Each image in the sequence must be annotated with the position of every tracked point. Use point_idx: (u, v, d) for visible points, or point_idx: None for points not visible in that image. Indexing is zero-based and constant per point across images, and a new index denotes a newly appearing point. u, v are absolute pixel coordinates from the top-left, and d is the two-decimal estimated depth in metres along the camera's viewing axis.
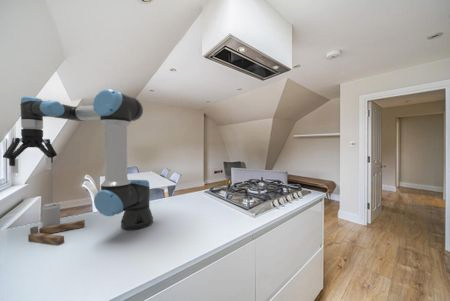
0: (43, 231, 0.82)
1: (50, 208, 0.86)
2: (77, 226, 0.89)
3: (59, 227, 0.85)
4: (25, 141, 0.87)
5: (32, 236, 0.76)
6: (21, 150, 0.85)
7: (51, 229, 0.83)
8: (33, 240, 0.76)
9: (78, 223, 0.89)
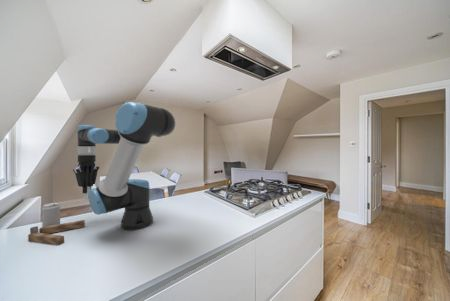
0: (43, 231, 0.82)
1: (50, 208, 0.86)
2: (77, 226, 0.89)
3: (59, 227, 0.85)
4: (83, 167, 0.93)
5: (32, 236, 0.76)
6: (86, 178, 0.94)
7: (51, 229, 0.83)
8: (33, 240, 0.76)
9: (78, 223, 0.89)
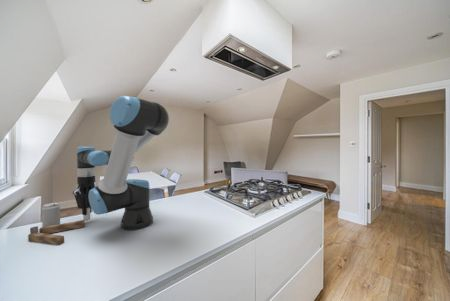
0: (43, 231, 0.82)
1: (50, 208, 0.86)
2: (77, 226, 0.89)
3: (59, 227, 0.85)
4: (82, 189, 0.92)
5: (32, 236, 0.76)
6: (86, 199, 0.94)
7: (51, 229, 0.83)
8: (33, 240, 0.76)
9: (78, 223, 0.89)
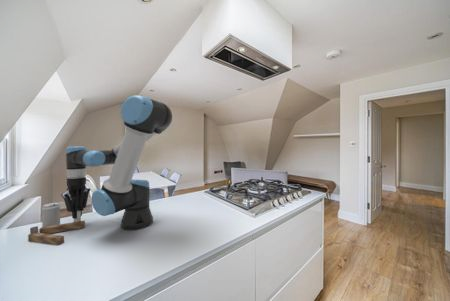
0: (43, 231, 0.82)
1: (50, 208, 0.86)
2: (77, 227, 0.88)
3: (59, 227, 0.85)
4: (72, 191, 0.87)
5: (32, 236, 0.76)
6: (76, 202, 0.89)
7: (50, 230, 0.83)
8: (33, 240, 0.76)
9: (78, 224, 0.88)
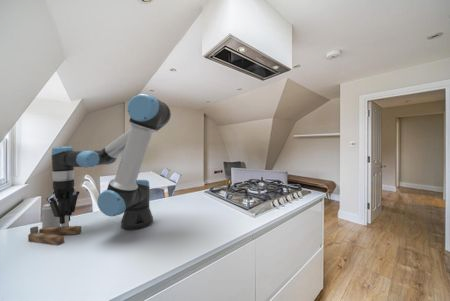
0: (42, 232, 0.81)
1: (50, 208, 0.86)
2: (71, 232, 0.82)
3: (55, 230, 0.81)
4: (59, 195, 0.81)
5: (32, 236, 0.76)
6: (63, 206, 0.83)
7: (48, 232, 0.81)
8: (33, 240, 0.76)
9: (72, 229, 0.82)
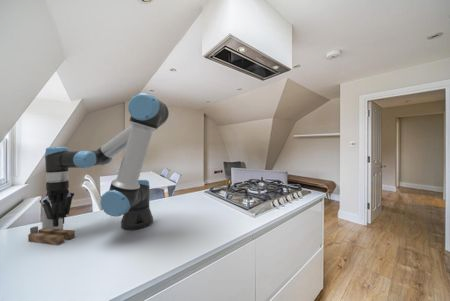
0: None
1: None
2: (64, 236, 0.78)
3: (51, 233, 0.79)
4: (52, 197, 0.79)
5: (32, 236, 0.76)
6: (57, 208, 0.80)
7: (45, 233, 0.80)
8: (33, 240, 0.76)
9: (65, 233, 0.78)
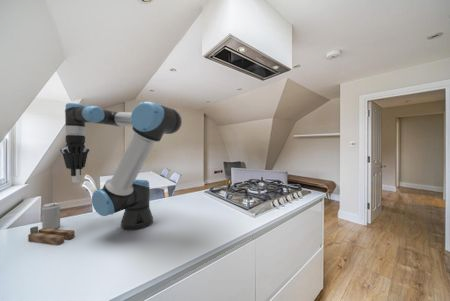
0: None
1: (50, 208, 0.86)
2: (64, 236, 0.78)
3: (51, 233, 0.79)
4: (71, 148, 0.87)
5: (32, 236, 0.76)
6: (75, 159, 0.88)
7: (45, 233, 0.80)
8: (33, 240, 0.76)
9: (65, 233, 0.78)
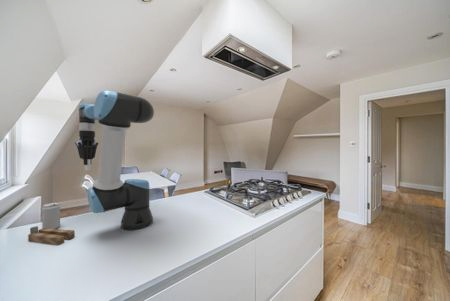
0: None
1: (50, 208, 0.86)
2: (64, 236, 0.78)
3: (51, 233, 0.79)
4: (84, 141, 1.04)
5: (32, 236, 0.76)
6: (86, 151, 1.06)
7: (45, 233, 0.80)
8: (33, 240, 0.76)
9: (65, 233, 0.78)
